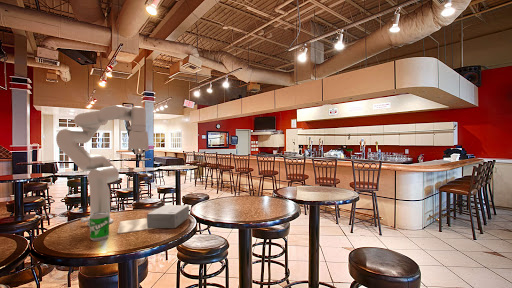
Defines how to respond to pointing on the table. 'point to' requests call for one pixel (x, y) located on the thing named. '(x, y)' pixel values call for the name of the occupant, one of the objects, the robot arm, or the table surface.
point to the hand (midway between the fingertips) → (138, 161)
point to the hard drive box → (167, 216)
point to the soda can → (99, 226)
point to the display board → (133, 226)
